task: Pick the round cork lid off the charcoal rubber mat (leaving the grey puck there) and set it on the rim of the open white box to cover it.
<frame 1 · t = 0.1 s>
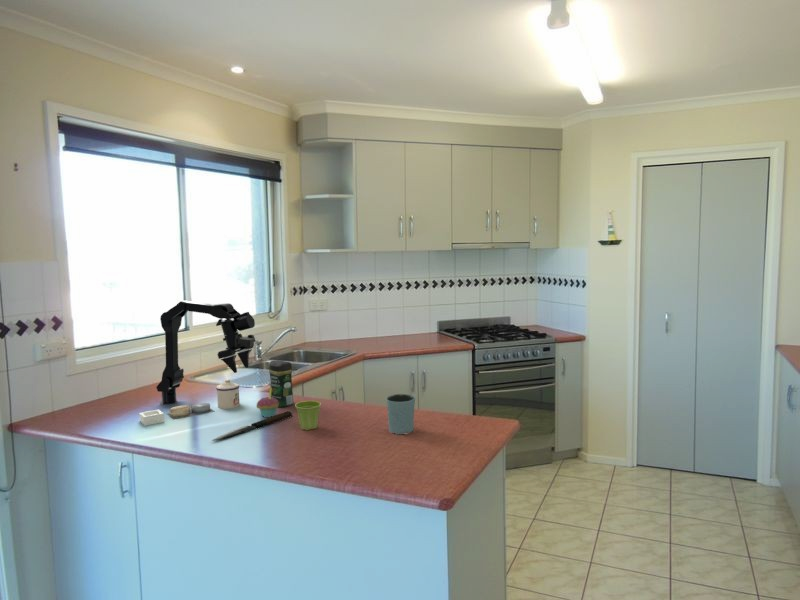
hand: (241, 370, 229), 15 cm above the countertop, tool pointing down, fingers open, 9 cm apart
teacup with lid: (229, 407, 232), on the countertop
grey puck: (200, 410, 224), point 1 cm above the countertop, touching mat
coffee jar: (282, 405, 233), on the countertop
kitchen knife: (252, 429, 203), on the countertop
cupcake: (268, 416, 218), on the countertop
open white box: (152, 423, 211), on the countertop
blue cup: (401, 431, 196), on the countertop
mat: (190, 414, 221), on the countertop
plant pot: (309, 428, 202), on the countertop
cork lid: (180, 414, 219), point 1 cm above the countertop, touching mat
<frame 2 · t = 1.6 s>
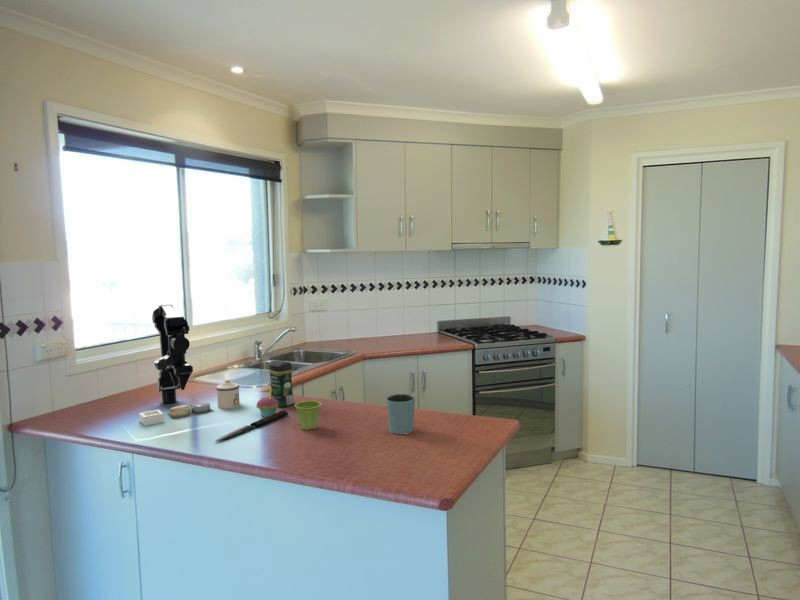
hand: (178, 387, 218), 12 cm above the countertop, tool pointing down, fingers open, 9 cm apart
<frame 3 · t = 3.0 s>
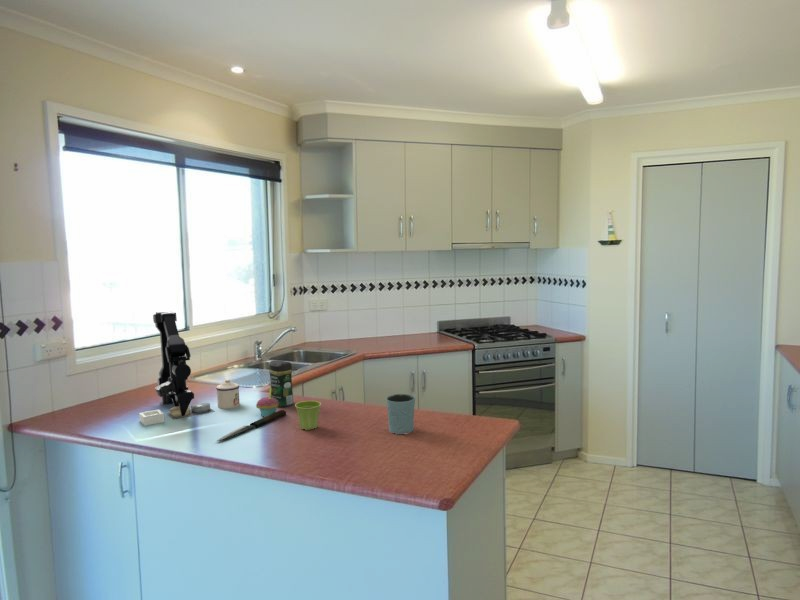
hand: (180, 413, 219), 1 cm above the countertop, tool pointing down, fingers closed on cork lid, 7 cm apart
cork lid: (180, 414, 219), point 1 cm above the countertop, touching gripper, mat
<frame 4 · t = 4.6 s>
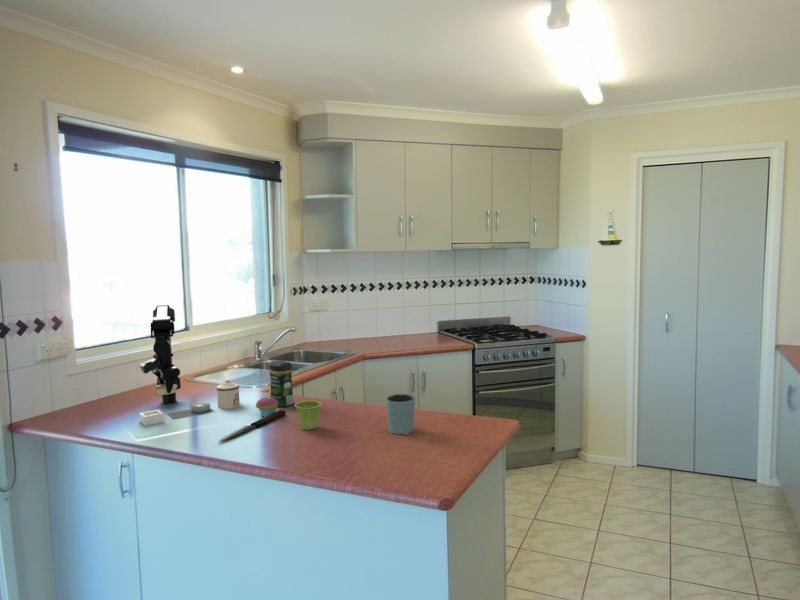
hand: (165, 391, 214), 11 cm above the countertop, tool pointing down, fingers closed on cork lid, 7 cm apart
cork lid: (166, 392, 214), point 11 cm above the countertop, touching gripper
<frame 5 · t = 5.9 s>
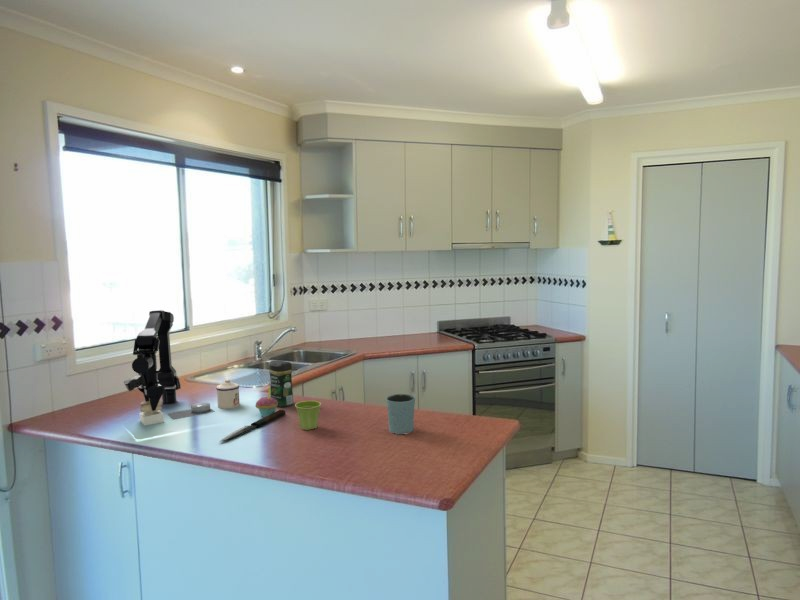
hand: (151, 408, 210), 6 cm above the countertop, tool pointing down, fingers closed on cork lid, 7 cm apart
cork lid: (151, 409, 210), point 5 cm above the countertop, touching gripper
when the fingers open (5 cm above the countertop, at t = 6.5 s): cork lid stays where it is, resting on open white box.
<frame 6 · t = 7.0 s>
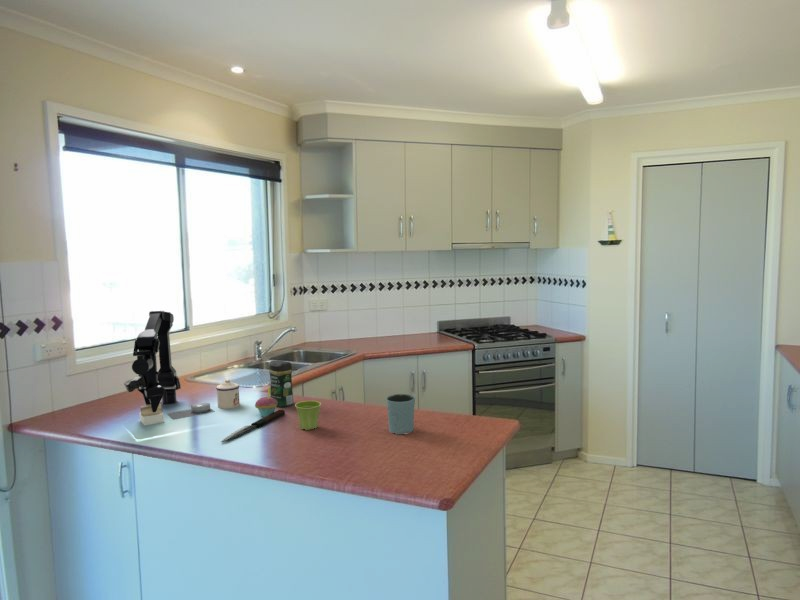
hand: (151, 409, 210), 5 cm above the countertop, tool pointing down, fingers open, 9 cm apart
cork lid: (151, 413, 211), point 4 cm above the countertop, touching open white box
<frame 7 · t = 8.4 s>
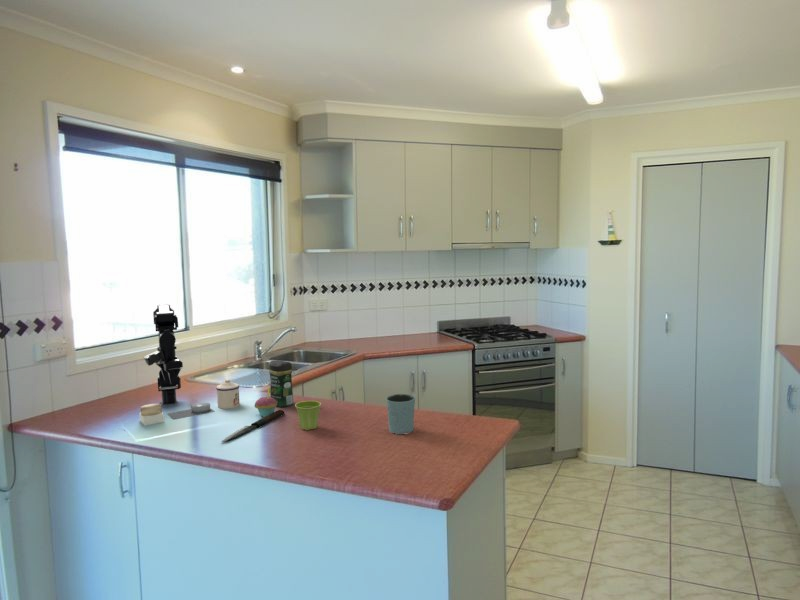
hand: (169, 382, 221), 13 cm above the countertop, tool pointing down, fingers open, 9 cm apart
nothing on the countertop moved.
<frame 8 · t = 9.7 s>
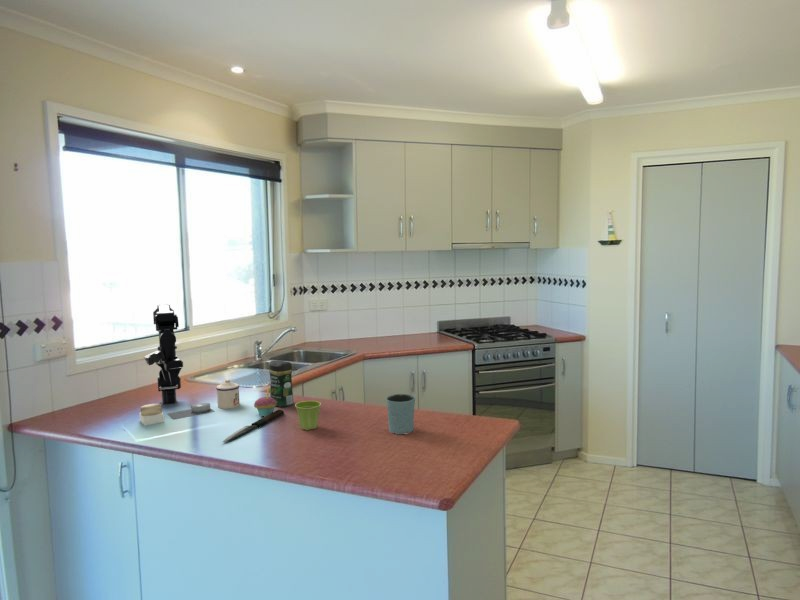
hand: (169, 382, 221), 13 cm above the countertop, tool pointing down, fingers open, 9 cm apart
at the end: cork lid 0.0 cm off-centre on the open white box, point 4.0 cm above the open white box's base; cork lid tilted 0°; the gripper is holding nothing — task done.
